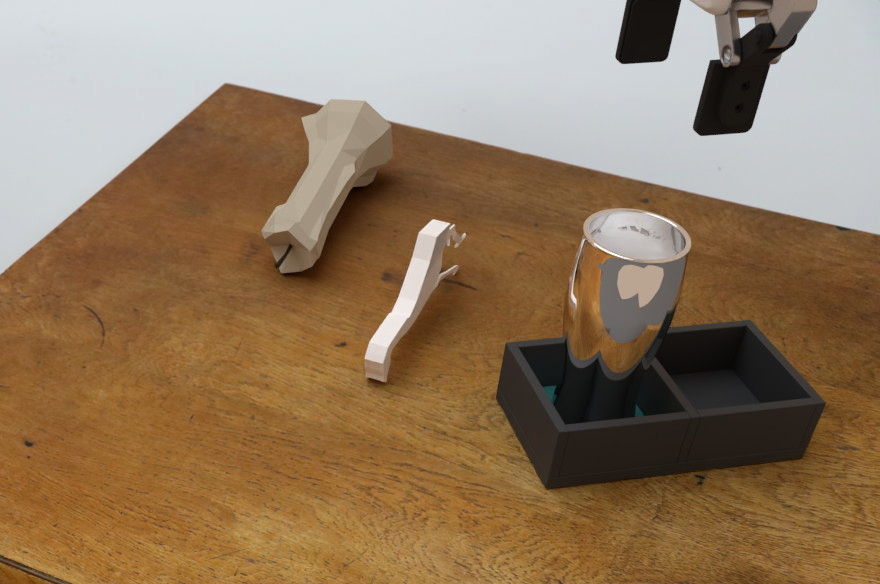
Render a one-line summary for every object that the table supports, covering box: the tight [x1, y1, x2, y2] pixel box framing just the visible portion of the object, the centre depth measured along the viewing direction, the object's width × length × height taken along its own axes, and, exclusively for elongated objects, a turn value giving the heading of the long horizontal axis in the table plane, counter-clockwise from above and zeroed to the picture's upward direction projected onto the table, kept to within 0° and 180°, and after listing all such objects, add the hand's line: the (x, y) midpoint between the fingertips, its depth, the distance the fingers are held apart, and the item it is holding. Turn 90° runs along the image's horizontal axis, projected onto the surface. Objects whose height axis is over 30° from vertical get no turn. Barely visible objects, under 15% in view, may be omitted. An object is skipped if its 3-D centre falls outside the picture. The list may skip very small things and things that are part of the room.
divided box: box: [495, 319, 827, 490], centre depth 78 cm, size 19×10×5 cm, turn 102°
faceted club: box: [261, 98, 394, 274], centre depth 98 cm, size 9×8×25 cm
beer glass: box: [550, 207, 692, 425], centre depth 73 cm, size 7×7×15 cm
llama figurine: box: [363, 218, 467, 383], centre depth 87 cm, size 2×11×18 cm
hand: (678, 94), depth 63 cm, fingers open, 9 cm apart
